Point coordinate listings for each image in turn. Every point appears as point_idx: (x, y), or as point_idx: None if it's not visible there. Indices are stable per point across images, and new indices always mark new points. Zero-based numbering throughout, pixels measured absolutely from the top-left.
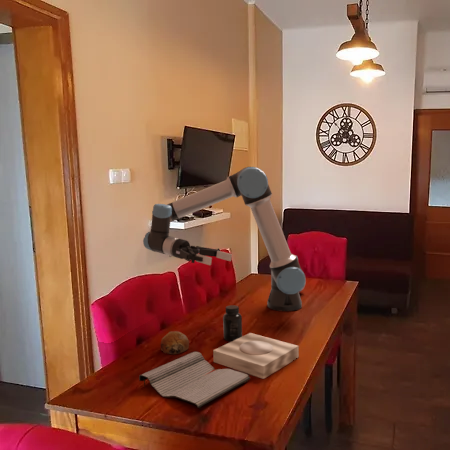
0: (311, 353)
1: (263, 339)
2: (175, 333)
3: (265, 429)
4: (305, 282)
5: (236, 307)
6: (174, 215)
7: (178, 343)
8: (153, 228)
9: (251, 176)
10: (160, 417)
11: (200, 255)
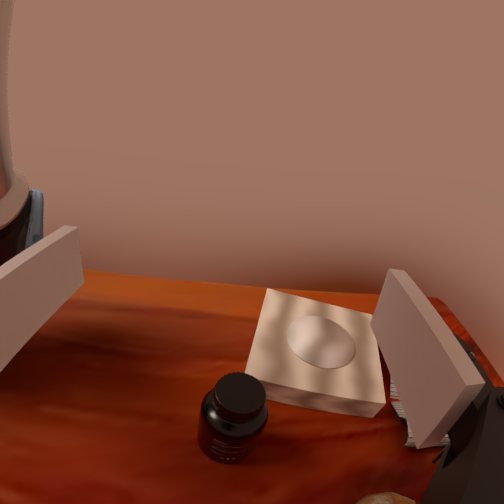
0: (235, 292)
1: (270, 340)
2: None
3: (431, 303)
4: None
5: (238, 377)
6: None
7: (401, 496)
8: None
9: None
10: (496, 379)
11: (454, 341)
